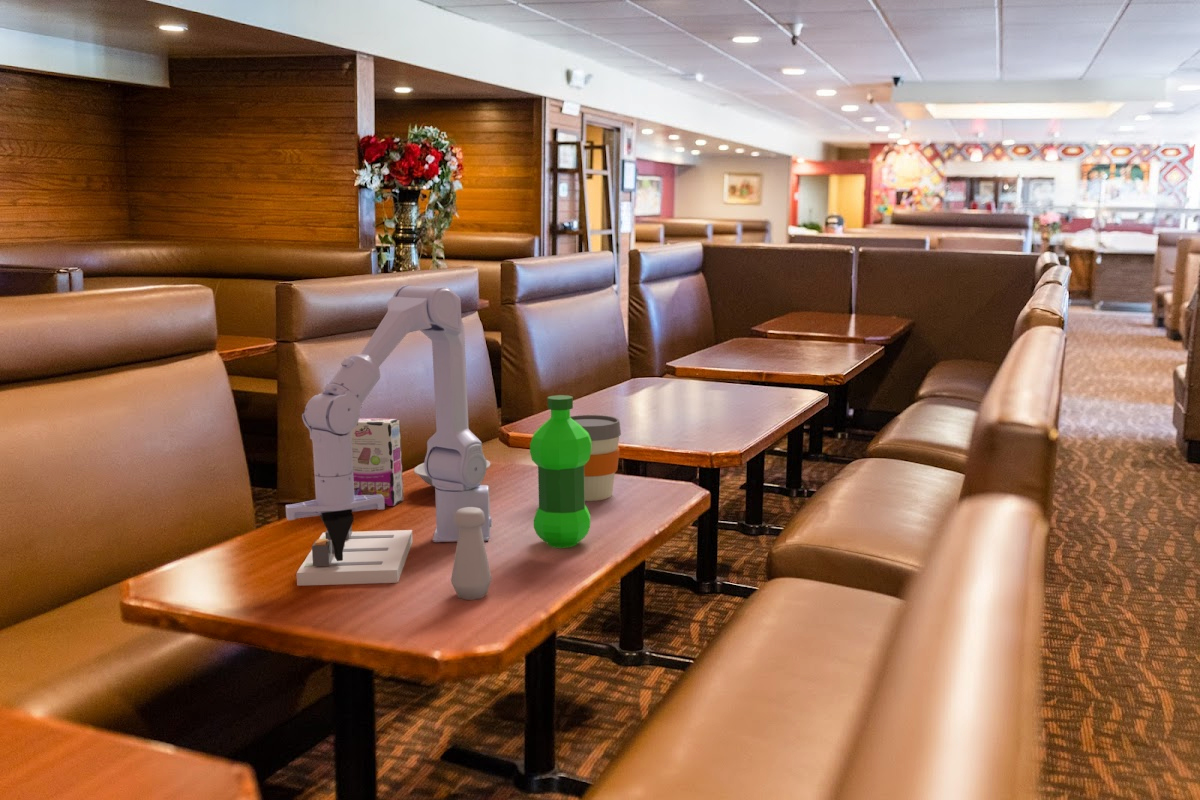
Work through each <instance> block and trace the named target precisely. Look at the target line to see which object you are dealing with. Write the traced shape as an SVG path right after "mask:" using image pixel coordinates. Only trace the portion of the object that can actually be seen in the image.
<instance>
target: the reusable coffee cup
mask: <svg viewBox="0 0 1200 800" xmlns="http://www.w3.org/2000/svg"><path fill="white" fill-rule="evenodd" d="M570 417H571V418H572V419H573V420H574V421H576V422H577V423H578V424H579V425H580V426H582V427H583V428H584V429H585V430H586V431H587V432H588V433H589V435H590V438H591V454H590V459H589V461H588V462H587V463H586V464H585V465H584V485H585V502H594V501H603V500H606V499H607V500H608V499H609V498H611V497H612V496H613V490H614V483H615V473H616V472H617V471H618V466H619V459H620V449H621V448H620V447H619V442H620V441H619V440H620V436H621V435H622V431H621V424H620V419H619V418H617V417H614V416H610V415H609V416H608V415H602V414H601V415H600V414H599V415H598V414H583V415H582V414H581V415H580V414H579V415H570Z"/></svg>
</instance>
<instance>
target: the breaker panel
mask: <svg viewBox="0 0 1200 800" xmlns="http://www.w3.org/2000/svg"><path fill="white" fill-rule="evenodd" d="M325 532H326V531H325ZM325 532H324V531H323V532H322V533H321V535H320V537H319V538H318V539H326V535H325ZM413 539H414V538H413V529H405V530H404V529H401V530H400V529H399V530H398V529H397V530H367V531H352V534H351V536H350V538H349V539H346V540H345V547H344V549H343V560H342V561H337V560H336V558H335V553H334V552H332V557H333V560H332V562H331V563H330V565H329V566H313V556H312V549H311V550H310V552H309V553H308V554H307V556H306V558H305V560H304V561H303V563H302V564H301V565H300V567H299V568H298V570H297V572H296V585H297V586H326V585H327V586H328V585H329V586H330V585H332V586H333V585H361V584H362V585H365V584H367V585H368V584H391V583H392V584H393V583H394V584H396V583H399V580H400V579H401V578H400V577H401V575H402V572H403V569H404V566H405V564H406V561H407V558H408V555H409V553H410V549H411V547H412V544H413V542H414V541H413Z"/></svg>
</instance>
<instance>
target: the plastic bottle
mask: <svg viewBox="0 0 1200 800" xmlns="http://www.w3.org/2000/svg"><path fill="white" fill-rule="evenodd" d="M573 398H574V397H573V396H571V395H567V394H566V395H564V394H558V395H550V396H547V410H550V418H549V419H547V420H546V421H545V422H544V423H543V424H542V425H540V427H539V428H538V429H536V430H535V432H533V435H532V437H531V441H530V444H529V453H530V458H531V460H532V462H533V463H534V464H535V465H536V466H537V468H538V469H537V475H538V476H537V478H538V481H537V482H538V483H537V484H538V507H537V509H536V512H535V514H534V518H533V529H534V531H535V534H536V535H537V537H539V538H540V539H541V540H542V541H543V542H545V544H546V545H547V546H549V547H551V548H559V549H566V548H573V547H575V546H577V545H578V544H579V543H580V542H581V541H582V540H583V539H584V538H585V537H586V536H587V535H588V533H589V531H590V528H591V514H590V511H589V509H588V507H587V505H586V501H585V485H584V465H585V464H586V463H587V462H588V461H589V459H590V454H591V438H590V435H589V433H588V432H587V431H586V430H585V429H584V428H583V427H582V426H580V425H579V424H578V423H577V422H576V421H574V420H573V419H572V418H571V417H570V416H571V412H570V411H571V410H573V408H574V399H573Z"/></svg>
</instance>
